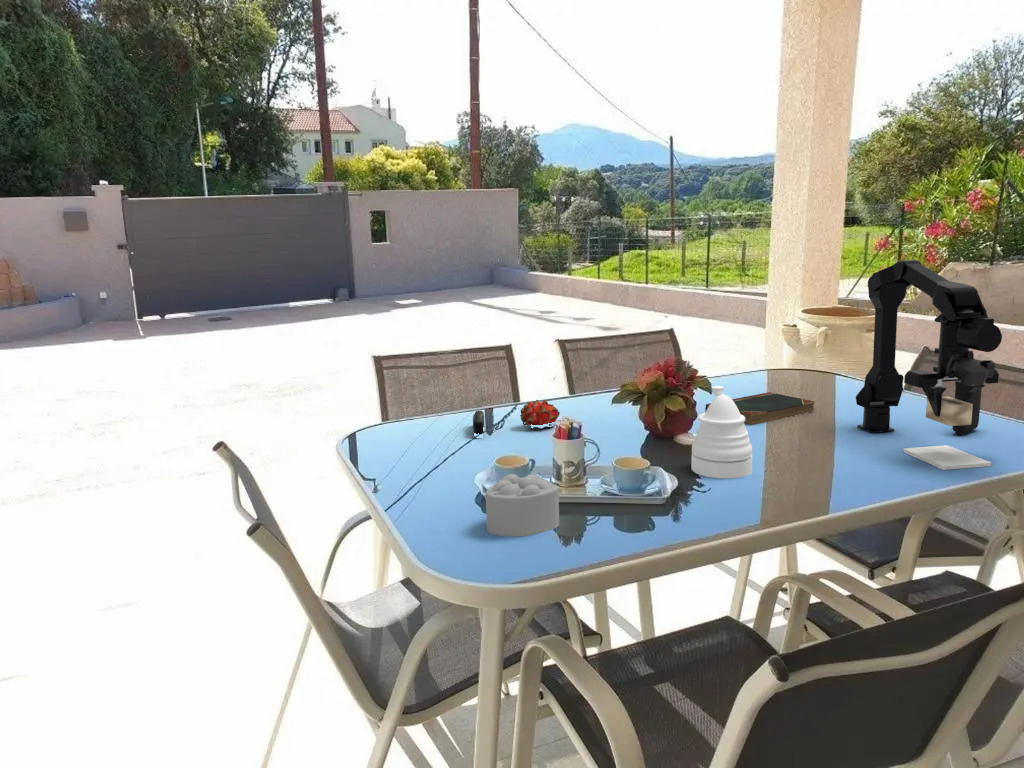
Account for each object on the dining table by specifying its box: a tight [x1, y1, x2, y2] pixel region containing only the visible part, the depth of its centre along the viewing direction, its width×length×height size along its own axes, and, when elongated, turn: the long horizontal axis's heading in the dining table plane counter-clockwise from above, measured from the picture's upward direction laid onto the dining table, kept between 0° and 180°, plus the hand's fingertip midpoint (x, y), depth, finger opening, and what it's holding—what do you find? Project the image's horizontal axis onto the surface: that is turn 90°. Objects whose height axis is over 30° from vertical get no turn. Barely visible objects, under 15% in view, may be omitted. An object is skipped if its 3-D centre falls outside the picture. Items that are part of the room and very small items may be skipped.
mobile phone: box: [472, 410, 485, 434], centre depth 213 cm, size 5×3×15 cm
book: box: [704, 391, 816, 426], centre depth 223 cm, size 17×4×25 cm
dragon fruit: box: [519, 399, 561, 426], centre depth 214 cm, size 8×8×12 cm
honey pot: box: [690, 385, 754, 480], centre depth 173 cm, size 13×13×18 cm
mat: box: [902, 444, 992, 471], centre depth 177 cm, size 14×11×1 cm
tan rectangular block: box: [925, 396, 973, 427], centre depth 175 cm, size 5×8×5 cm, turn 8°
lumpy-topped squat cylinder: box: [485, 473, 560, 537], centre depth 145 cm, size 10×13×9 cm
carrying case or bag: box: [952, 388, 983, 436], centre depth 195 cm, size 11×3×15 cm, turn 127°
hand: (948, 415), depth 175 cm, fingers closed on tan rectangular block, 5 cm apart
